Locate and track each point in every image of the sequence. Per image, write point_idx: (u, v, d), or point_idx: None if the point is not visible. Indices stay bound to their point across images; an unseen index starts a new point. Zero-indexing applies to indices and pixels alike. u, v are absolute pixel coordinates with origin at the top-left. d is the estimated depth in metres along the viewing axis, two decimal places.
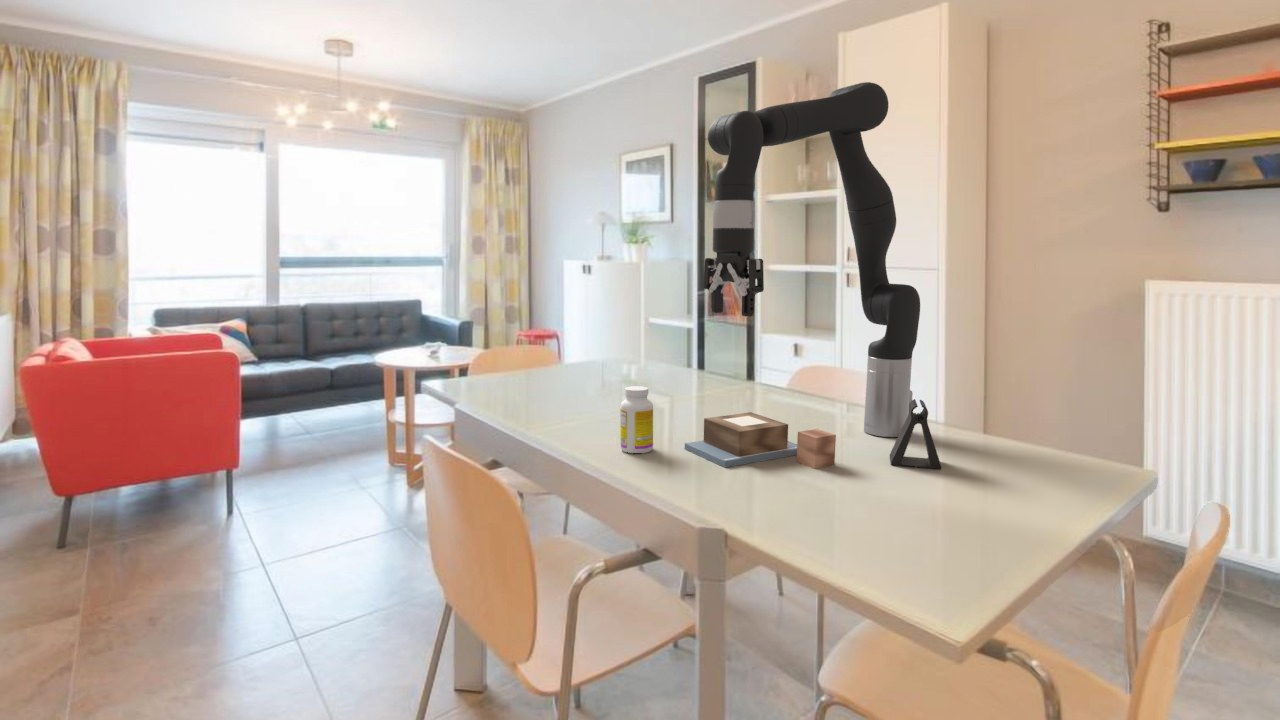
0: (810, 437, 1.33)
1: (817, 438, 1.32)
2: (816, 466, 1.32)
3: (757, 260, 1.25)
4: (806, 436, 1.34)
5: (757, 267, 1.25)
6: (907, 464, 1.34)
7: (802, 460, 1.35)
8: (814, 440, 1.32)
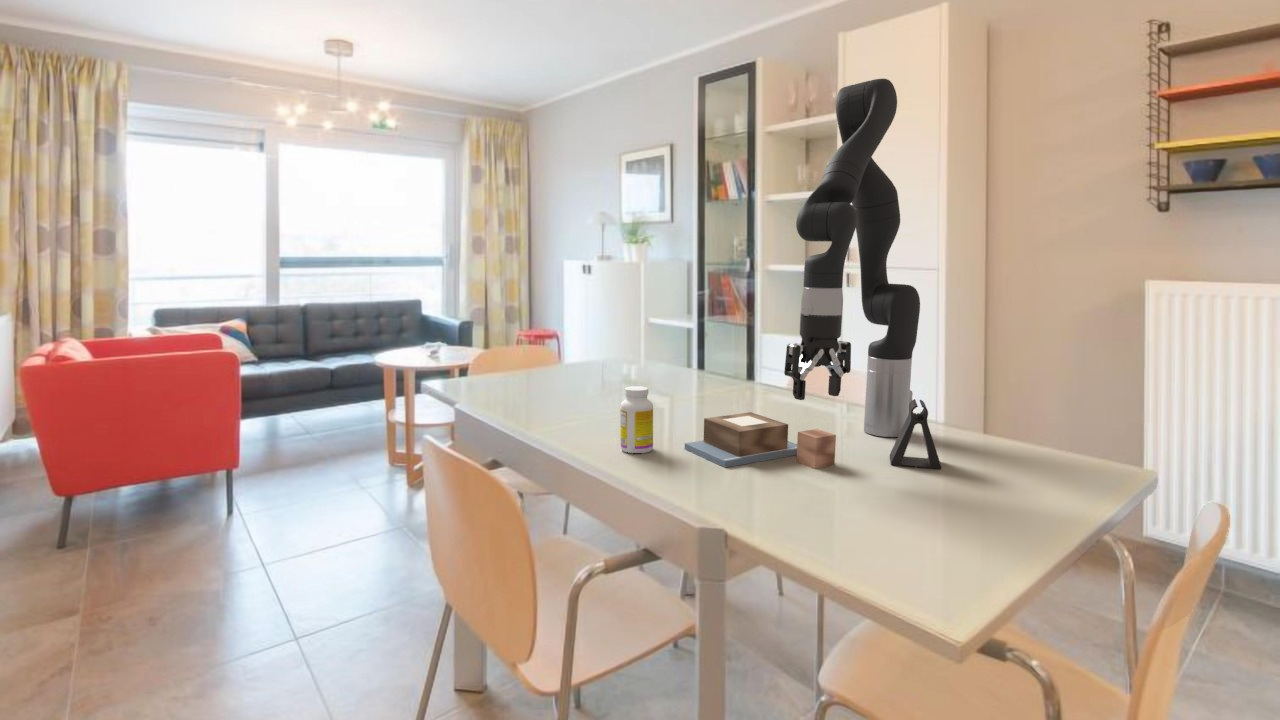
0: (810, 437, 1.33)
1: (817, 438, 1.32)
2: (816, 466, 1.32)
3: None
4: (806, 436, 1.34)
5: None
6: (907, 464, 1.34)
7: (802, 460, 1.35)
8: (814, 440, 1.32)
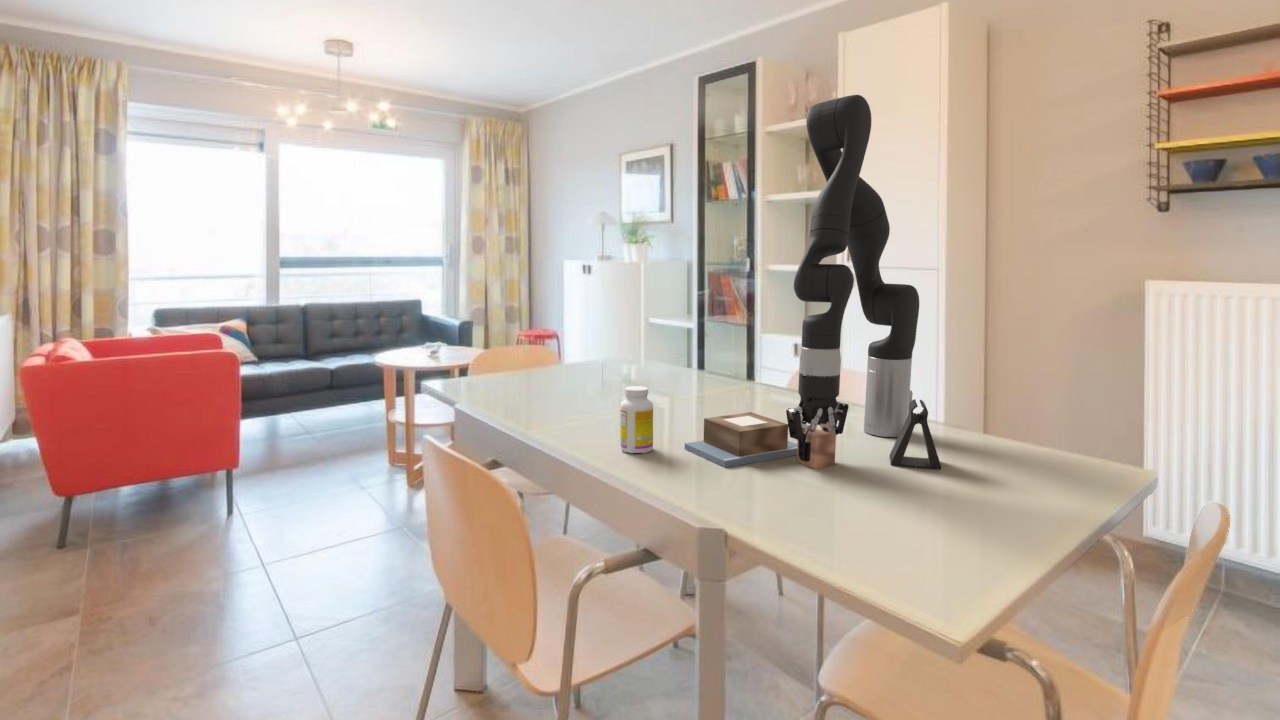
0: None
1: (817, 438, 1.31)
2: (816, 466, 1.32)
3: None
4: None
5: None
6: (907, 464, 1.34)
7: (802, 460, 1.35)
8: (814, 440, 1.32)
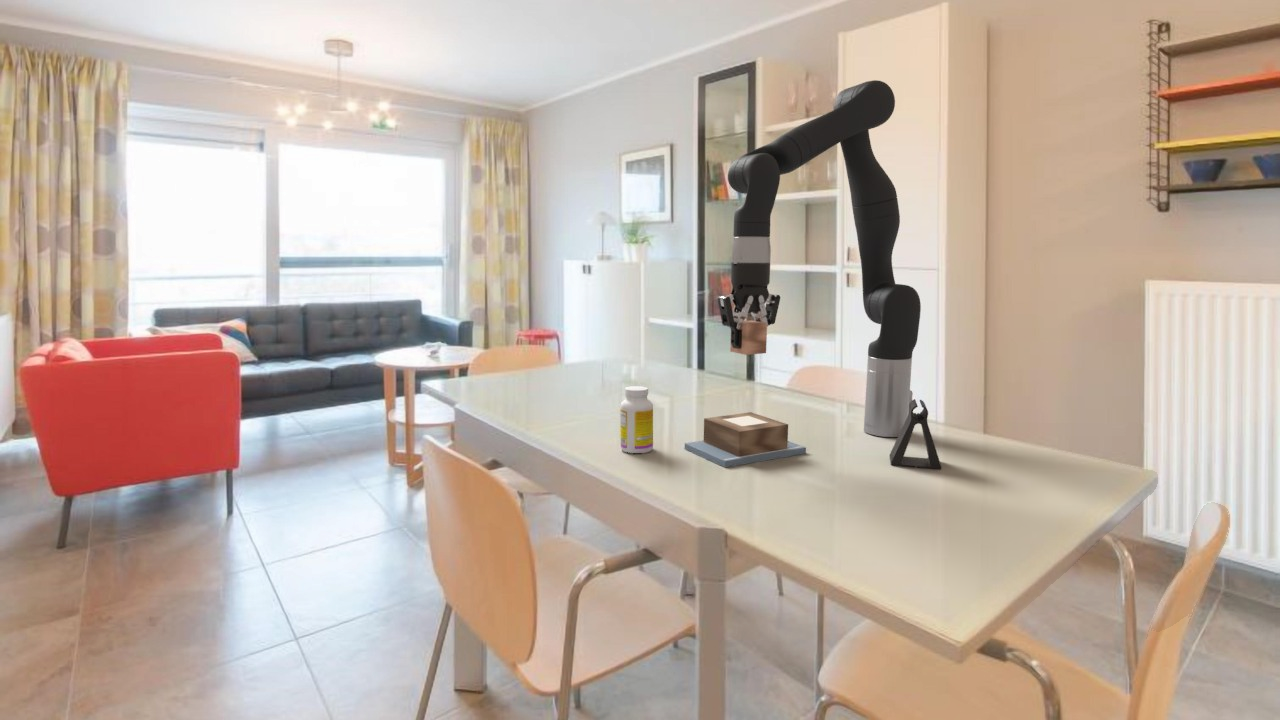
0: None
1: (748, 324, 1.36)
2: (747, 352, 1.37)
3: None
4: None
5: None
6: (907, 464, 1.34)
7: (735, 348, 1.40)
8: (745, 326, 1.36)
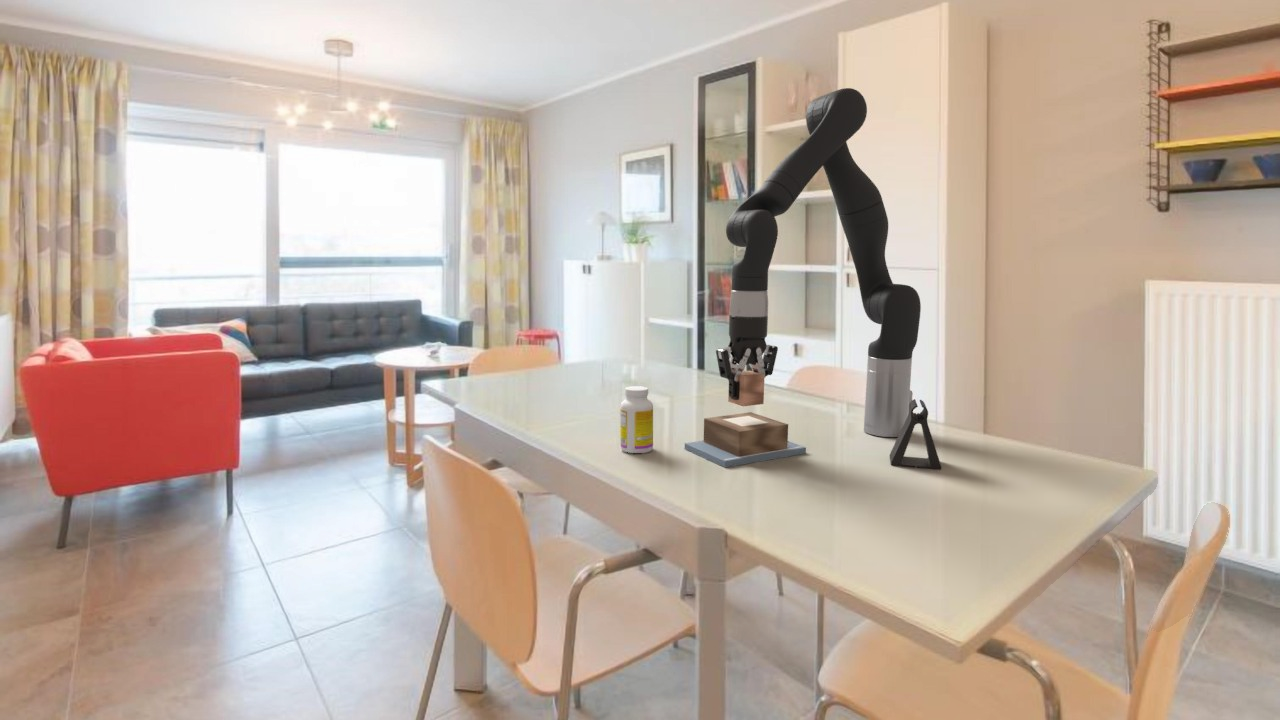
0: None
1: (745, 377, 1.38)
2: (745, 404, 1.39)
3: None
4: None
5: None
6: (907, 464, 1.34)
7: (733, 399, 1.41)
8: (743, 378, 1.38)
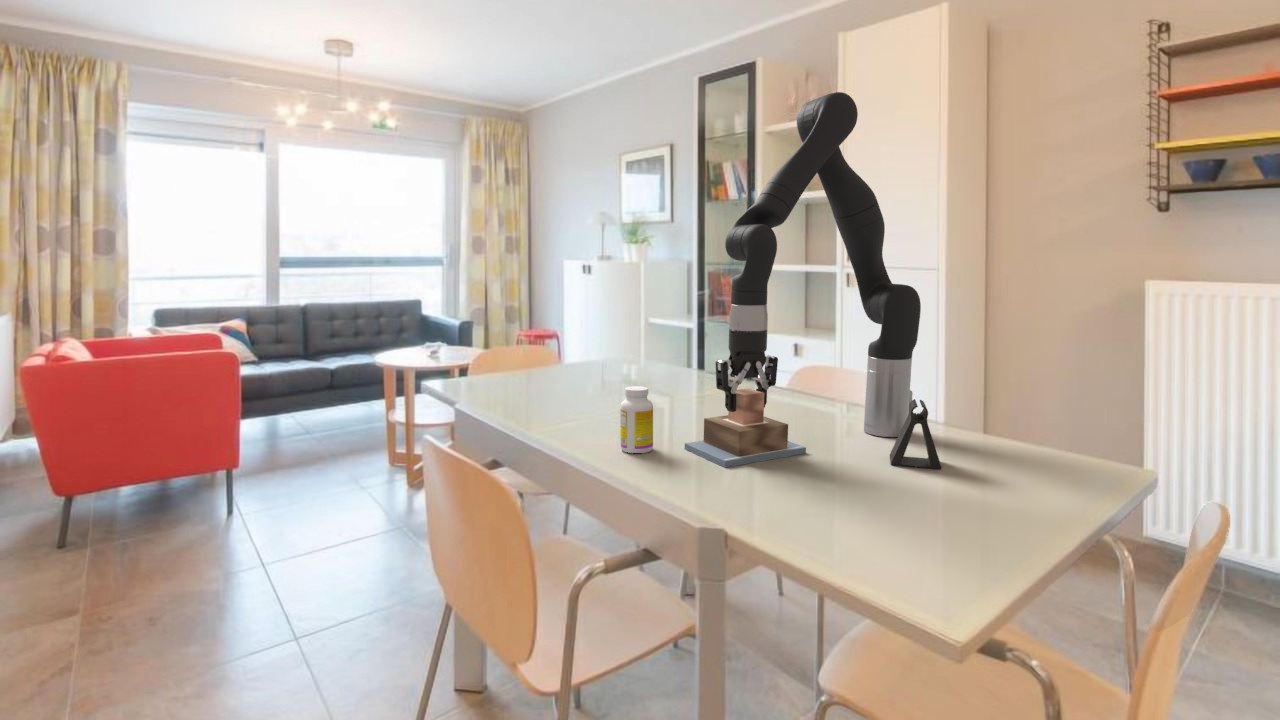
0: (739, 395, 1.39)
1: (745, 395, 1.38)
2: (745, 422, 1.39)
3: None
4: (736, 394, 1.40)
5: None
6: (907, 464, 1.34)
7: (733, 417, 1.42)
8: (743, 397, 1.39)
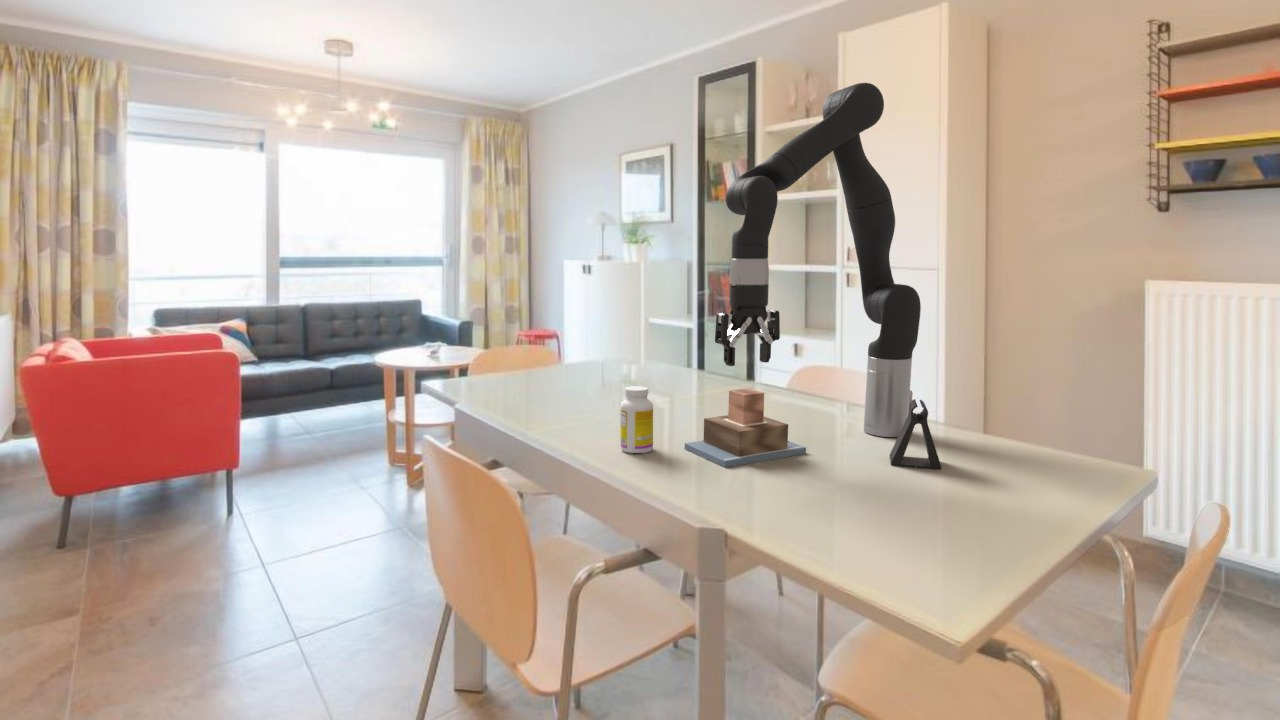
0: (739, 395, 1.39)
1: (745, 395, 1.38)
2: (745, 422, 1.39)
3: None
4: (736, 394, 1.40)
5: None
6: (907, 464, 1.34)
7: (733, 417, 1.42)
8: (743, 397, 1.39)
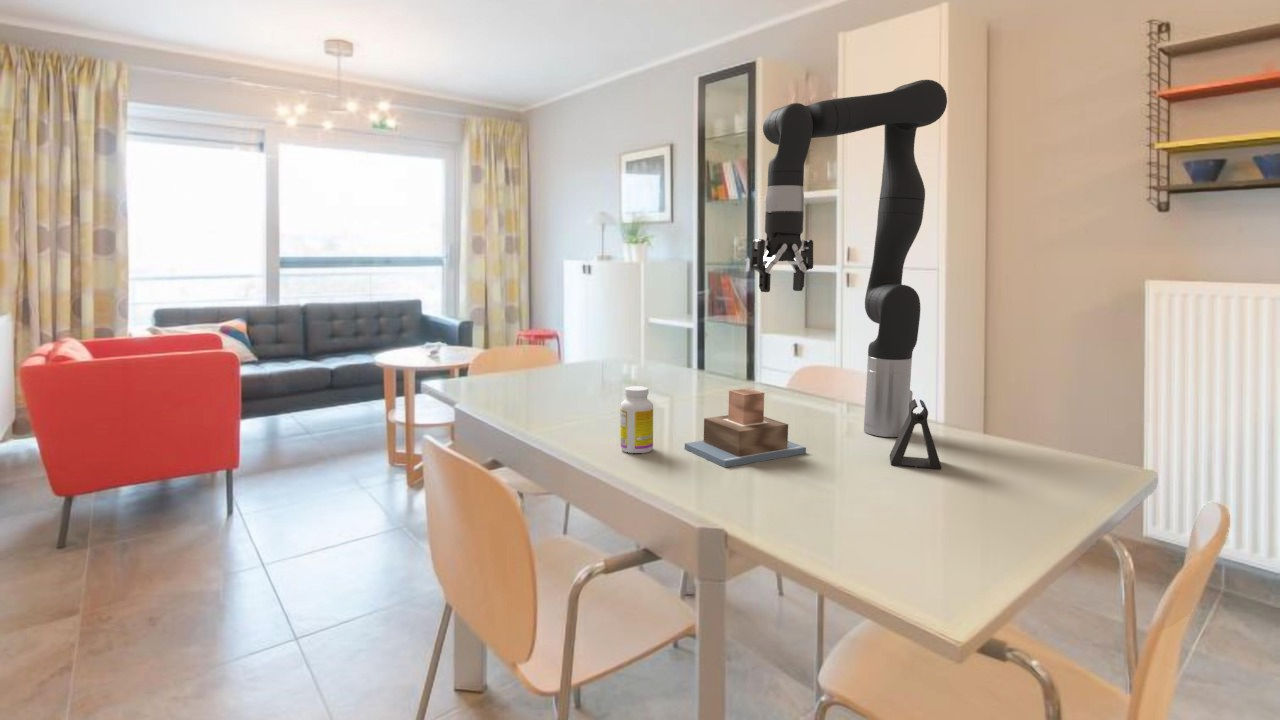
0: (739, 395, 1.39)
1: (745, 395, 1.38)
2: (745, 422, 1.39)
3: None
4: (736, 394, 1.40)
5: None
6: (907, 464, 1.34)
7: (733, 417, 1.42)
8: (743, 397, 1.39)
